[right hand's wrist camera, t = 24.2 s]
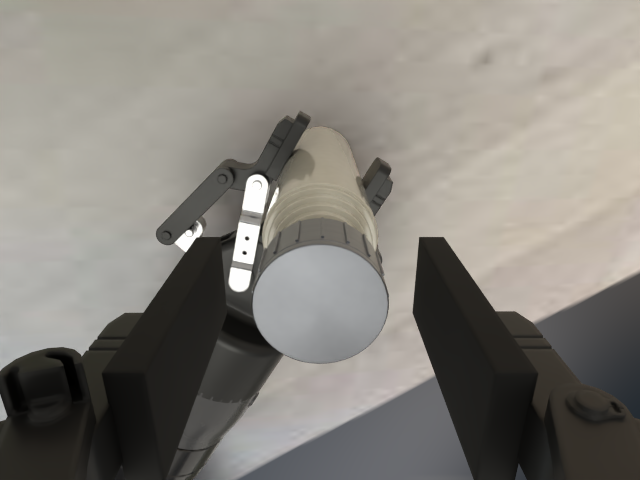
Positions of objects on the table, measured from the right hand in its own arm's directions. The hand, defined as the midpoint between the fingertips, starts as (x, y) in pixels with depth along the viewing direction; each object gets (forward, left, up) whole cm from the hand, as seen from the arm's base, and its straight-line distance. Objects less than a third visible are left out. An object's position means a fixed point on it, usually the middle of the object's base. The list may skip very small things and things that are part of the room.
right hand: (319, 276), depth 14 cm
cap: (0, 0, +2) cm, 2 cm away
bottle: (0, 0, -18) cm, 18 cm away
